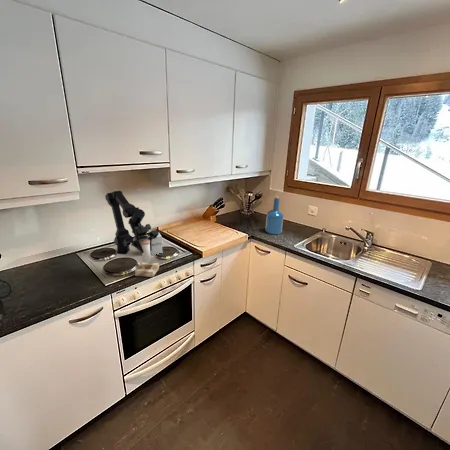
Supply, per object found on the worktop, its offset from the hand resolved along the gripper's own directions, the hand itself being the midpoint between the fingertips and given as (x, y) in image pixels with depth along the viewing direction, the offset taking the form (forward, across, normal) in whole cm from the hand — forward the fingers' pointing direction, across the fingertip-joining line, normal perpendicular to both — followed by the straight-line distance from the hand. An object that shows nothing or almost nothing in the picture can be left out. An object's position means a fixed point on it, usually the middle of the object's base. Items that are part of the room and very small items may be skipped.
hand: (147, 251), depth 140 cm
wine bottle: (+12, +109, +7) cm, 110 cm away
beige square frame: (+9, 0, +10) cm, 13 cm away
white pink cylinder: (+4, 0, +5) cm, 6 cm away
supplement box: (-5, +16, +25) cm, 30 cm away
